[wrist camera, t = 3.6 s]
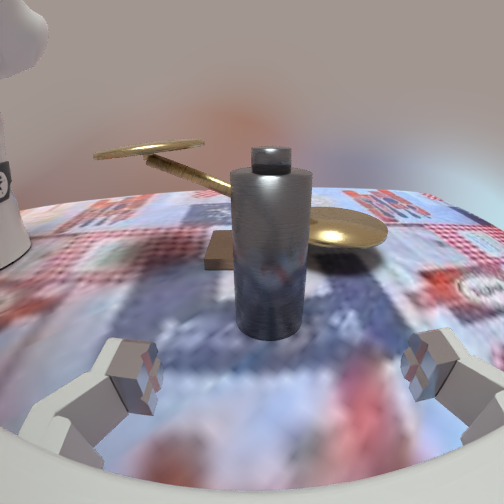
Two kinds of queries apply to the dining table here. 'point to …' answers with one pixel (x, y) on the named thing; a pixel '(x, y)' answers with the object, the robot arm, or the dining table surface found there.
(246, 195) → the iron weight
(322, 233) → the balance
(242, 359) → the dining table surface
